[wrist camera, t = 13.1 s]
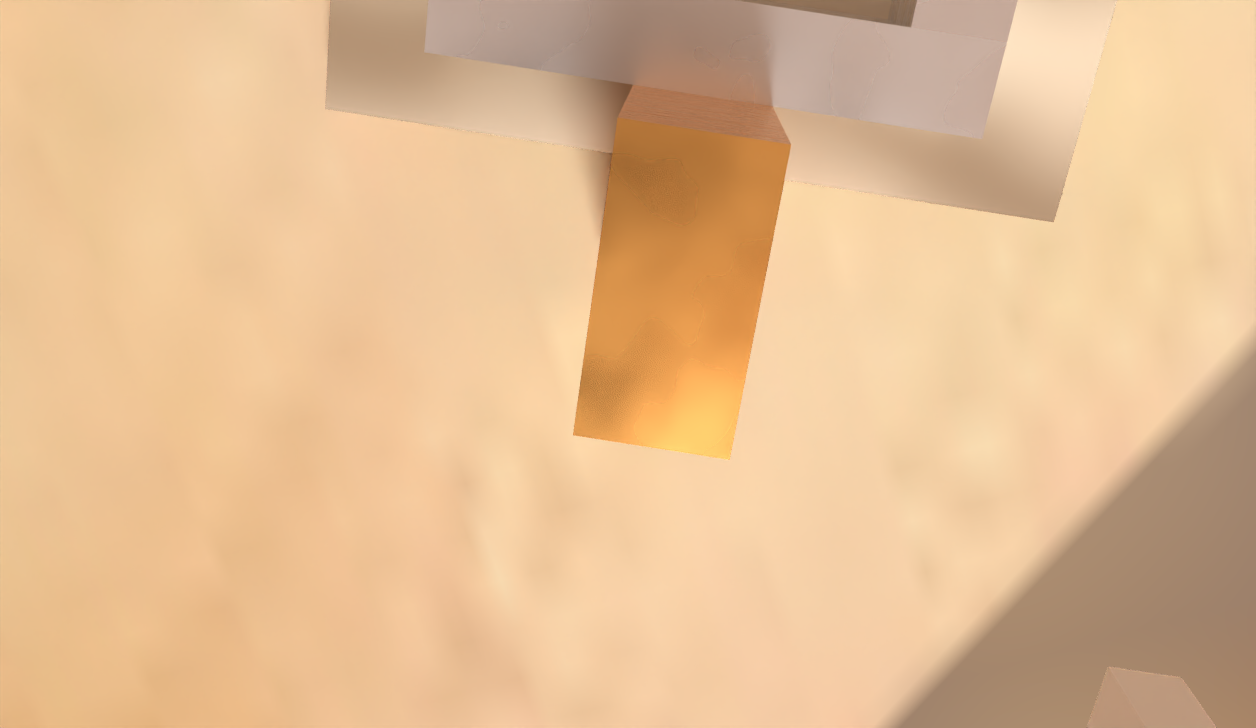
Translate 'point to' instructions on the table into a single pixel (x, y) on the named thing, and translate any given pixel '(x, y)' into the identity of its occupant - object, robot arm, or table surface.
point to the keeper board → (820, 144)
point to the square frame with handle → (716, 165)
